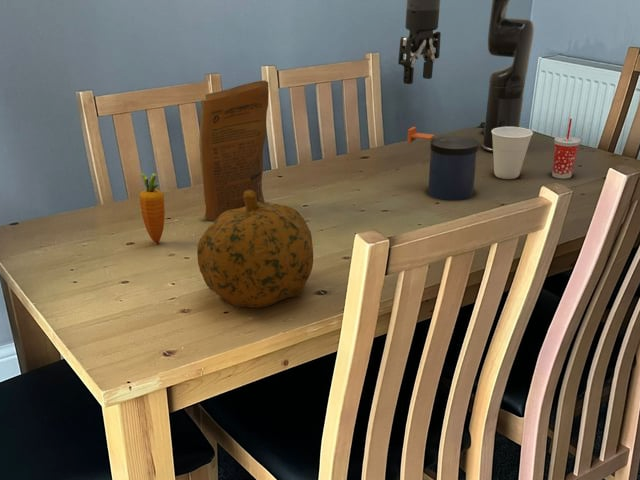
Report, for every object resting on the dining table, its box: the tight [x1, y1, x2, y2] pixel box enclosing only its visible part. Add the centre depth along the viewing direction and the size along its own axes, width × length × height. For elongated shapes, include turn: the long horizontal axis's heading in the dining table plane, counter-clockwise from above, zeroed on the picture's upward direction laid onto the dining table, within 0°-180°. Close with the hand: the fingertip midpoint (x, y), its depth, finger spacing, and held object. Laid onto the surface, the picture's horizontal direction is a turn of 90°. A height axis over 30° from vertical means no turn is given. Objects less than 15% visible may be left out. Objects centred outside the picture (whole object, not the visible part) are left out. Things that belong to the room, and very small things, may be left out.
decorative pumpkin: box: [196, 190, 314, 309], centre depth 139 cm, size 20×21×20 cm
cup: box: [491, 126, 534, 180], centre depth 196 cm, size 10×10×11 cm
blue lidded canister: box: [427, 135, 480, 201], centre depth 186 cm, size 11×11×12 cm
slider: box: [406, 126, 436, 144], centre depth 186 cm, size 6×3×3 cm, turn 59°
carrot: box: [139, 173, 166, 245], centre depth 162 cm, size 5×5×15 cm
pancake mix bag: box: [198, 79, 270, 221], centre depth 173 cm, size 7×19×28 cm, turn 127°
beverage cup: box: [551, 118, 581, 180], centre depth 195 cm, size 6×6×14 cm
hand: (417, 81), depth 190 cm, fingers open, 8 cm apart
